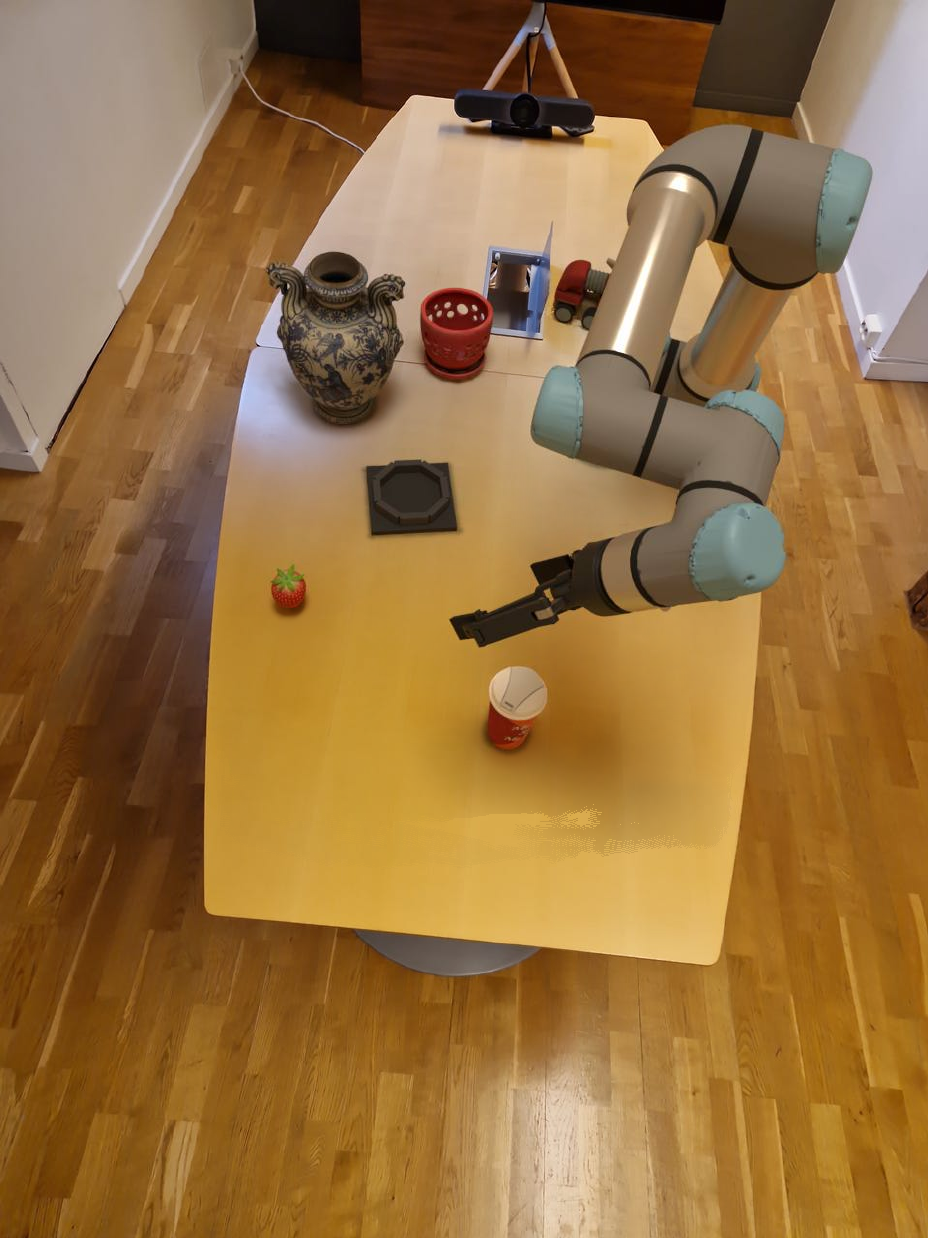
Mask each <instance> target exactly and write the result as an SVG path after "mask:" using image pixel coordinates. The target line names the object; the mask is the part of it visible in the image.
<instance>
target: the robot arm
mask: <svg viewBox="0 0 928 1238" xmlns="http://www.w3.org/2000/svg"><path fill="white" fill-rule="evenodd" d="M872 180H873V167H872V164H871V163H870V162H869V160H868V159H866V158H865V157H862V156H859V155H857V154H854V153H850V152H848V151H846V150H844V149H843V148H841V147H837V148H834V147H830V146H826V145H822V144H817V143H814V142H810V141H807V140H806V141H805V140H801V139H797V138H793V137H789V136H784V135H781V134H776V133H772V132H768V131H764V130H761V129H755V128H753V127H751V126H748V125H747V126H746V125H743V124H719V125H714V126H709V127H705V128H703V129H699V130H697V131H694V132H691V133H689V134H688V135H686V136H684V137H681V138H680V139H679V140H677V141H675V142H674V143H672V144H671V145H669V146H668V147H666V148H665V149H664V150H663V151H662V152H660V153H659V154H658V155H657V156H655V158H654V159H653V160H652V161H651V162H650V163H649V164H648V165H647V166H646V167H645V169H644V170H643V172H642V173H641V174H640V176H639V178H638V179H637V181H636V183H635V185H634V187H633V189H632V192H631V193H630V194H631V195H630V196H629V199H628V203H627V206H626V220H627V221H626V222H627V226H628V228H627V230H626V233H625V235H624V237H623V241H622V244H621V246H620V248H619V251H618V254H617V257H616V258H615V260H614V261H615V264H614V267H613V269H611V272H610V273H611V274H610V273H609V274H610V277H609V280H608V282H607V285H606V287H605V290H604V292H603V295H602V298H601V300H600V303H599V305H598V308H597V311H596V313H595V316H594V318H593V321H592V324H591V326H590V329H589V331H588V330H587V334H586V338H585V339H584V342H583V344H582V347H581V350H580V352H579V355H578V356H577V360H576V363H575V365H574V366H565V365H560V364H557V365H554V366H553V365H552V366H551V368H550V369H549V370H548V372H547V373H546V375H545V377H544V378H543V382H542V384H541V387H540V389H539V393H538V396H537V399H536V402H535V405H534V409H533V413H532V418H531V422H530V423H531V424H530V429H529V430H530V437H531V440H532V441H533V442H534V443H535V444H536V445H538V446H539V447H542V448H545V449H547V450H549V451H551V452H554V453H557V454H559V455H562V456H565V457H567V458H568V459H572V460H574V459H576V460H580V461H582V462H586V463H590V464H593V465H597V466H600V467H603V468H606V469H610V470H614V471H616V472H620V473H623V474H626V475H629V476H630V475H631V476H632V477H635V478H639V479H640V480H641V479H642V480H645V481H649V482H652V483H655V484H658V485H660V486H661V485H662V486H665V487H668V488H671V489H674V490H677V491H678V493H677V497H676V500H675V507H674V510H673V511H674V512H673V515H672V518H671V519H670V521H668V522H664V523H662V524H658V525H655V526H647V527H645V528H640V529H637V530H636V529H635V530H633V531H628V532H624V533H621V534H618V535H616V536H613V537H612V536H611V537H607V538H604V539H600V540H597V541H589V542H588V543H586V544H585V545H584V547H582V548H581V549H575V550H573V552H572V553H570V554H569V553H566V554H563V555H558V556H555V557H551V558H548V559H547V558H546V559H543V560H539V561H535V562H533V563H531V564H530V565H529V568H530V570H531V572H532V574H533V575H534V578H535V580H536V582H537V584H538V585H537V586H535V589H534V592H532V593H529V594H528V595H524V596H523V597H520V598H518V599H516V600H514V601H511V602H510V603H507V604H504V605H503V606H500V607H498V608H495V609H494V610H491V611H489V612H488V610H486V609H485V610H481V609H480V608H478V609H476V610H475V611H474V612H470V613H464V614H460V615H454V616H452V617H450V618H449V620H448V621H449V622H450V625H451V626H452V628H453V630H454V632H455V634H456V636H457V638H458V640H459V641H465V640H473V639H474V641H475V643H476V645H477V648H479V649H480V648H485V647H486V646H489V645H492V644H495V643H497V642H501V641H503V640H506V639H509V638H511V637H514V636H517V635H521V634H523V633H527V632H529V631H532V630H535V629H538V628H542V627H547V626H554V625H555V624H557V622H559V621H560V618H559V615H561V614H564V613H567V612H569V611H573V612H574V611H576V610H580V609H581V608H583V609H585V610H586V611H588V612H589V613H591V614H593V615H595V616H598V617H604V618H607V617H614V616H620V615H628V614H632V613H636V612H645V611H651V610H652V611H653V610H658V609H660V611H662V612H663V613H667V612H668V611H669V610H671V609H672V607H673V608H674V607H677V606H683V605H691V604H692V605H693V604H699V603H706V602H717V601H718V603H720V602H721V603H722V602H729V601H733V600H735V599H738V598H739V597H744V596H749V595H754V594H759V593H762V592H764V591H766V590H768V589H769V588H771V587H772V586H774V585H775V584H776V583H777V582H778V580H779V578H780V577H781V575H782V573H783V571H784V569H785V565H786V560H787V552H785V551H786V550H785V549H784V542H785V541H786V539H785V533H784V531H783V527H782V526H781V523H780V522H779V520H778V518H777V517H776V516H775V514H774V512H773V511H771V510H770V509H769V508H767V507H766V506H767V503H768V500H769V496H770V492H771V489H772V485H773V482H774V478H775V474H776V470H777V467H778V466H779V464H780V461H781V458H782V455H781V454H782V446H783V441H784V437H785V436H784V435H785V427H786V426H785V425H786V422H785V416H784V413H783V411H782V410H781V408H780V406H779V404H777V403H776V402H775V401H774V400H773V399H772V398H770V397H769V396H767V395H765V394H763V393H760V392H758V389H759V385H760V381H761V379H762V367H761V366H760V364H759V363H757V362H756V354H757V353H758V352H759V349H760V348H761V346H762V344H763V342H764V341H765V339H766V338H767V336H768V334H769V332H770V331H771V329H772V328H773V325H774V324H775V322H776V321H777V319H778V317H779V316H780V315H781V312H782V310H783V309H784V307H785V306H786V304H787V302H788V300H789V298H790V296H791V295H792V294H793V292H794V290H797V289H800V288H801V287H804V286H806V285H807V284H808V283H810V282H811V281H812V280H813V279H815V277H817V275H818V274H822V275H826V274H831V275H834V274H836V273H838V272H839V271H840V270H841V268H842V266H843V265H844V262H845V260H846V258H847V255H848V253H849V250H850V247H851V245H852V242H853V239H854V237H855V234H856V232H857V229H858V225H859V222H860V219H861V216H862V213H863V211H864V207H865V204H866V201H867V198H868V195H869V191H870V188H871V184H872ZM705 241H711V242H712V243H715V244H718V245H722V246H727V254H728V259H729V261H730V265H729V268H728V269H727V272H726V274H725V276H724V279H723V281H722V283H721V285H720V288H719V290H718V292H717V294H716V297H715V299H714V302H713V304H712V306H711V308H710V310H709V312H708V315H707V317H706V319H705V322H704V324H703V326H702V329H701V331H700V332H699V333H697V334H695V335H693V336H692V337H691V338H690V339H689V340H688V341H683V340H680V339H676V338H672V337H671V332H670V330H671V327H672V325H673V321H674V319H675V315H676V313H677V310H678V306H679V303H680V300H681V297H682V293H683V291H684V287H685V284H686V281H687V278H688V275H689V273H690V269H691V265H692V263H693V259H694V257H695V253H696V250H697V248H699V247H700V246H701V245H703V244H704V242H705ZM547 590H549V593H550V595H551V598H552V600H550V598H549V597H548V596H547V595H546V593H545V591H547Z"/></svg>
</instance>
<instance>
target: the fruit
mask: <svg viewBox="0 0 928 1238" xmlns="http://www.w3.org/2000/svg"><path fill="white" fill-rule="evenodd" d="M276 572H277V574H276V575H275V577H274V578H273V579H272V580H270V584H271V585H270V592H271V596H272V598H273V600H274V601H275V603H277V605H279V606H281V607H284V608H296V607H298V606H299V605H301V603H302V602H303V600H304V598H305V596H306V591H307V584H306V581H305V578H304V576H305V574H300V573H298V571H295V563H293V564H291V565H290V567H289V568H288V569H284V570H281V569H280V568H279V567H277V568H276Z"/></svg>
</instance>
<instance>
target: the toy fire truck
mask: <svg viewBox="0 0 928 1238" xmlns="http://www.w3.org/2000/svg"><path fill="white" fill-rule="evenodd" d="M615 261H616V260H614V259H612V258H611V257H608V258H607V259H606V262H605V263H606V264H607V266H608V267H609V268H610V269H611V270H612V269H613V267H614V264H615ZM610 274H611V272H610V273H609V272H605V271H601V270H597V269H593V268H592V262H591V261H589V260H585V259H576V260H573V261H571V262H569V264H568V265H567V266H566V267H565V269H564V271H563V272H562V275H561V276H560V279H559V281H558V283H557V286H556V288H555V291H554V295H553V297H554V298H553V299H554V300H553V305H552V306H553V309H554V310H553V316H554V318H555V319H556V321H557V322H559V323H561V324H569V323H571V322H572V321H573V319H574V318H578V319H580V324H581V326H582V328H583V329H584V330H586V331H587V332H588V331H589V329H590V326H591V324H592V321H593V318H594V316H595V313H596V311H597V308H598V305H599V303H600V300H601V298H602V295H603V292H604V290H605V287H606V285H607V282H608V280H609V277H610Z"/></svg>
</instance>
